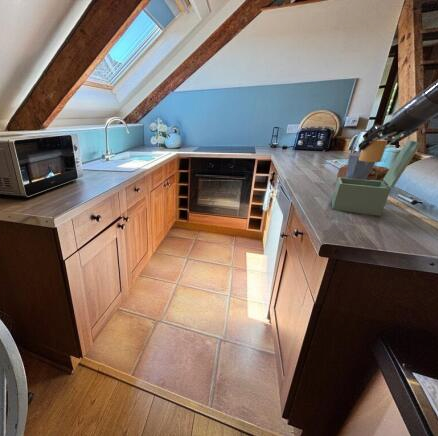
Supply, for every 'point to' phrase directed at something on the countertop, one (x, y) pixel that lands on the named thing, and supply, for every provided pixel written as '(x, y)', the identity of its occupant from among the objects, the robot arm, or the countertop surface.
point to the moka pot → (358, 167)
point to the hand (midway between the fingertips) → (368, 147)
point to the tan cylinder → (373, 151)
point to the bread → (375, 174)
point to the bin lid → (401, 162)
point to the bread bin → (360, 196)
